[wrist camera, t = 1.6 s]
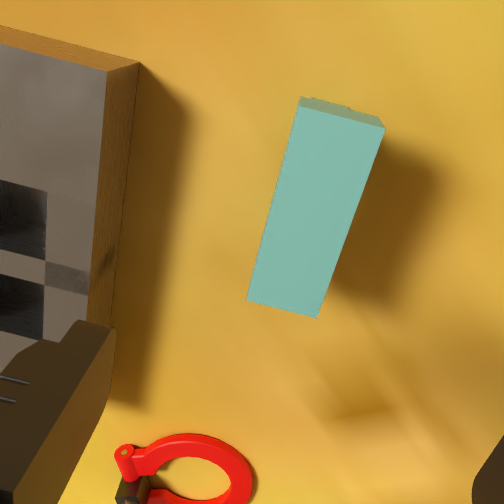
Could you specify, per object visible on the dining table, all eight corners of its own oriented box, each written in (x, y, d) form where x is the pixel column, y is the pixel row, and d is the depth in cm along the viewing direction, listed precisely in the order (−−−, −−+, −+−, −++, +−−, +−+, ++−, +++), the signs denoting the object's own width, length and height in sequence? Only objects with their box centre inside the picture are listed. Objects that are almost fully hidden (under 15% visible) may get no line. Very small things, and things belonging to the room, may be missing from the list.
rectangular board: (-29, 17, 22) (-94, 19, 18) (139, 61, 22) (106, 71, 19) (-16, 349, 31) (-58, 392, 28) (103, 379, 31) (77, 426, 28)
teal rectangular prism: (302, 81, 22) (299, 105, 16) (365, 97, 22) (385, 128, 16) (260, 234, 25) (246, 300, 20) (315, 248, 25) (316, 318, 20)
